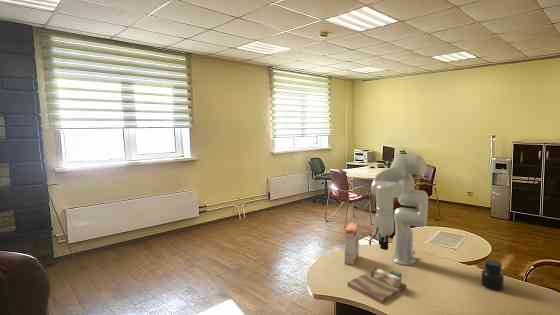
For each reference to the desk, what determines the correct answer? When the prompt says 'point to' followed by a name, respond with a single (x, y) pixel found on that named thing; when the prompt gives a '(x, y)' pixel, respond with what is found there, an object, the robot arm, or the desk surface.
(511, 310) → the desk surface
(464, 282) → the desk surface
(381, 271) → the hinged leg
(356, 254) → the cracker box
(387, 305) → the desk surface
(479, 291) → the desk surface
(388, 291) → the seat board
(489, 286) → the ink bottle
